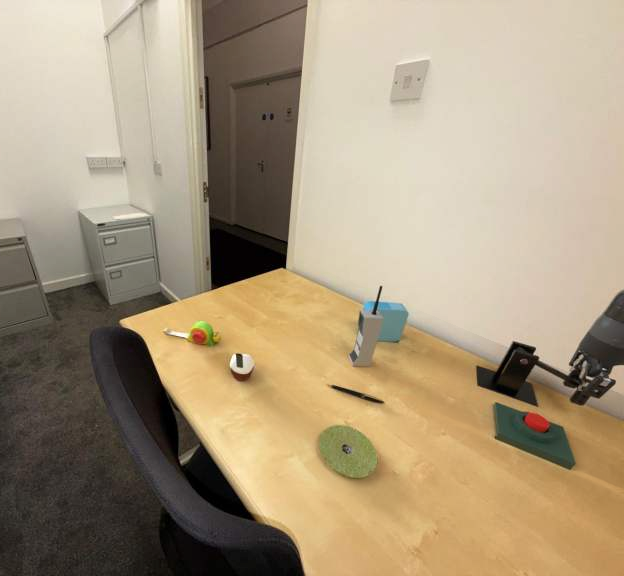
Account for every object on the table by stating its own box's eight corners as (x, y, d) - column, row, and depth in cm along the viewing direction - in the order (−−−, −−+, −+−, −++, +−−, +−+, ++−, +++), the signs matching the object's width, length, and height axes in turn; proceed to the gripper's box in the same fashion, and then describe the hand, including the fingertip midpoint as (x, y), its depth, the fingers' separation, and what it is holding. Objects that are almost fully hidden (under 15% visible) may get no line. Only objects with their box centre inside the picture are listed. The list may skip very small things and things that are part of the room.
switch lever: (575, 382, 72) (584, 376, 70) (582, 397, 67) (592, 391, 66) (510, 348, 76) (518, 342, 75) (513, 361, 72) (521, 354, 71)
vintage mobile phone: (348, 357, 88) (366, 282, 76) (365, 358, 87) (386, 282, 76) (352, 366, 84) (371, 289, 72) (369, 367, 84) (392, 289, 72)
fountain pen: (324, 387, 77) (325, 383, 77) (325, 384, 78) (326, 380, 78) (384, 406, 72) (385, 401, 72) (384, 402, 73) (385, 398, 72)
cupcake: (240, 362, 85) (241, 327, 80) (259, 370, 82) (261, 335, 77) (220, 382, 78) (220, 346, 72) (241, 393, 75) (241, 356, 70)
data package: (394, 334, 98) (404, 303, 92) (399, 342, 94) (410, 310, 89) (357, 331, 99) (364, 300, 94) (360, 339, 95) (368, 307, 90)
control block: (558, 433, 66) (567, 421, 65) (570, 470, 59) (581, 458, 57) (491, 407, 72) (498, 396, 70) (494, 439, 65) (502, 427, 63)
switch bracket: (529, 386, 79) (554, 348, 73) (536, 409, 72) (563, 370, 66) (474, 368, 84) (493, 331, 78) (475, 388, 78) (496, 349, 72)
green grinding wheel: (387, 473, 58) (390, 467, 57) (337, 491, 55) (339, 484, 54) (352, 425, 67) (354, 419, 67) (308, 437, 65) (309, 431, 64)
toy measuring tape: (216, 351, 89) (215, 333, 86) (159, 337, 95) (157, 320, 91) (224, 339, 95) (223, 321, 91) (170, 326, 100) (168, 310, 97)
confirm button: (544, 423, 64) (548, 417, 64) (547, 435, 62) (551, 430, 61) (522, 415, 66) (526, 409, 65) (525, 427, 64) (528, 421, 63)
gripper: (658, 363, 55) (605, 424, 63) (627, 326, 66) (584, 382, 74) (601, 348, 59) (557, 407, 67) (580, 316, 70) (544, 370, 78)
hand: (572, 394), depth 71 cm, fingers closed on switch lever, 5 cm apart
